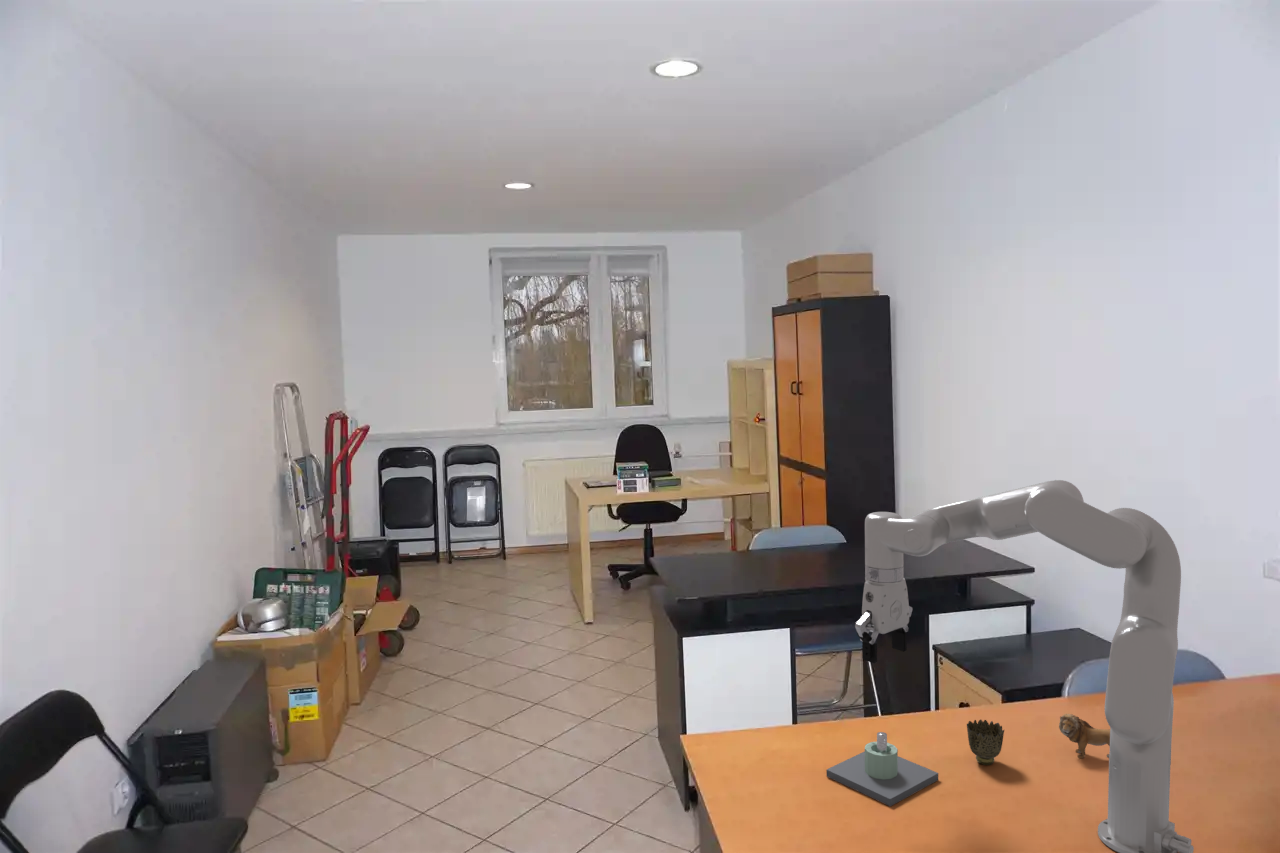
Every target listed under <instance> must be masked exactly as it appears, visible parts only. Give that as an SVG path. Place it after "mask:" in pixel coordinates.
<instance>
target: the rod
mask: <svg viewBox="0 0 1280 853" xmlns="http://www.w3.org/2000/svg"><path fill="white" fill-rule="evenodd" d="M876 742H877V752H878V753H887V743H888V734H887V733H886V732H883V731H880V732H879V731H878V732H877V733H876Z"/></svg>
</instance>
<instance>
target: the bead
mask: <svg viewBox="0 0 1280 853" xmlns="http://www.w3.org/2000/svg"><path fill="white" fill-rule="evenodd" d="M898 750H899V749H898V748H897V747H896V746H895V745H894V744H892V743H889V742H887V753H878V752H877V741H870V742H868V743H867V744H865V746H864V751H865V772H866V773H867V775H869V776H871V777H873V778H877V779H892V778H894V777H896V776H897V773H898V756H899V753H898V752H899V751H898Z"/></svg>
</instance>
